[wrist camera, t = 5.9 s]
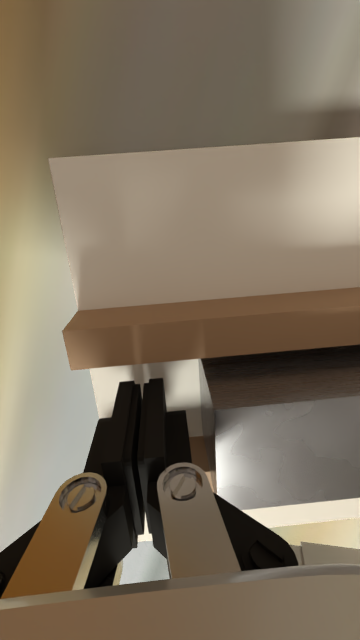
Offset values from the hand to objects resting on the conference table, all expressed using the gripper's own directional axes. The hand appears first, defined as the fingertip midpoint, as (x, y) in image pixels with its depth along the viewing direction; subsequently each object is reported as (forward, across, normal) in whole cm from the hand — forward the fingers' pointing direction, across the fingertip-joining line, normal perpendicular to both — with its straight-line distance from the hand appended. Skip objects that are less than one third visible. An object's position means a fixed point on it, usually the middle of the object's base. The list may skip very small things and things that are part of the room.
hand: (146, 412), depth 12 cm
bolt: (+1, -8, 0) cm, 8 cm away
